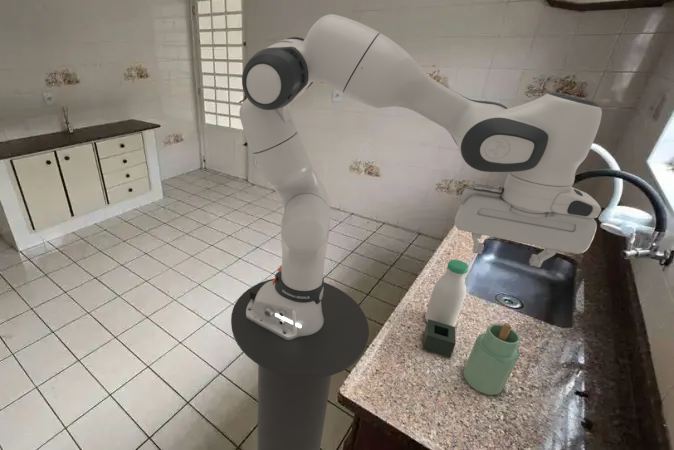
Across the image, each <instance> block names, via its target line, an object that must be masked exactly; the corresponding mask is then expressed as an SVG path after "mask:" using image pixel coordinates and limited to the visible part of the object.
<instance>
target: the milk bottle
mask: <svg viewBox="0 0 674 450" xmlns="http://www.w3.org/2000/svg"><path fill="white" fill-rule="evenodd" d="M468 271H469V265H468V264H467V263H466V262H465V261H463V260H459V259H451V260H449V261H448V263H447V266H446V271H445V273H444V274H443V275H442V276H440V278H438V279H437V281H436V282H435V284H434V287H433V290H432V292H431V295H430V298H429V301H428V305H427V309H426V312H425V315H424V318H425V321H426V323H427V322H428V319H429V320H433V321H436V322H440V323H443V324H447V325H450V326H454V327H455V328H456V324H457V322H458V319H459V316H460V314H461V310H462V308H463V305H464V302H465V300H466V297H467V285H466V281H465V280H466V279H465V276H466V275H467V273H468Z"/></svg>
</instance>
